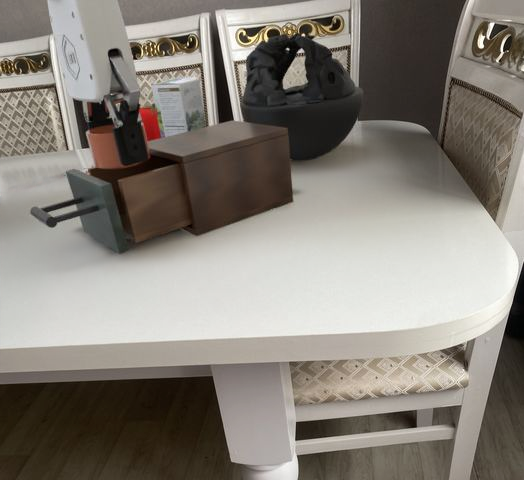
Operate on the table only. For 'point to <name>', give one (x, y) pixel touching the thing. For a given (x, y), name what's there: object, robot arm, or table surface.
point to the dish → (107, 147)
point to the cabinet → (230, 171)
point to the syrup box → (178, 105)
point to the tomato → (150, 122)
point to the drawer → (125, 202)
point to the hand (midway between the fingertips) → (121, 157)
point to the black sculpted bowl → (301, 95)
